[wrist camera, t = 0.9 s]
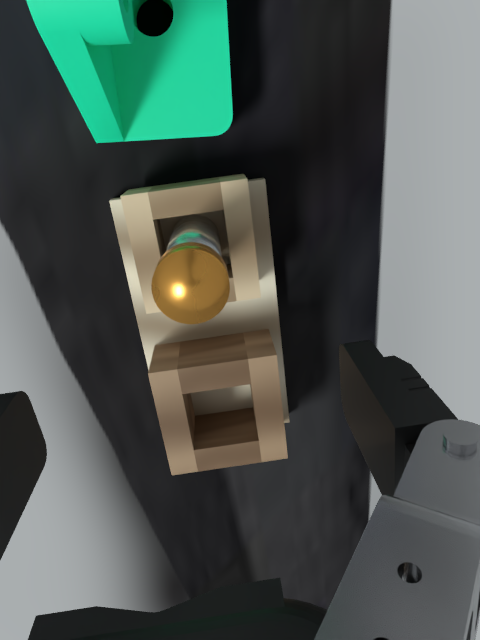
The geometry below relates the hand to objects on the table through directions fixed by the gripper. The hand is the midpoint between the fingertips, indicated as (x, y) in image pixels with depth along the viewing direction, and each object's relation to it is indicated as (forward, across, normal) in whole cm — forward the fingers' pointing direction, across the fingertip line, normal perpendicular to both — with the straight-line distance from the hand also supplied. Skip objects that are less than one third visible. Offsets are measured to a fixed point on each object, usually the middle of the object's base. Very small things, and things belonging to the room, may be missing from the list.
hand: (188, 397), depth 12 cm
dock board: (+20, 0, +6) cm, 21 cm away
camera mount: (+20, 0, -12) cm, 24 cm away
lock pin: (+19, 0, 0) cm, 19 cm away
